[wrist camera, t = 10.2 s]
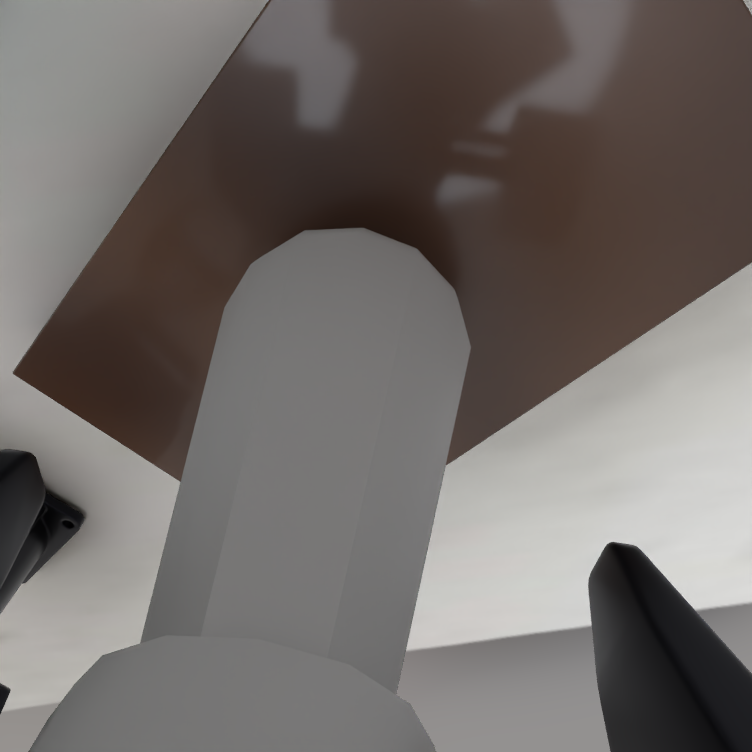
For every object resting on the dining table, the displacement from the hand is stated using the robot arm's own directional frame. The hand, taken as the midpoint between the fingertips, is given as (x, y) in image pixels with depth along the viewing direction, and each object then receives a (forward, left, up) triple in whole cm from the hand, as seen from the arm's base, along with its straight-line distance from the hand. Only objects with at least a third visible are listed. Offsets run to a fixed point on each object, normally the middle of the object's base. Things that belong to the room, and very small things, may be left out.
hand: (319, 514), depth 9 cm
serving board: (0, 0, -10) cm, 10 cm away
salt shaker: (0, 0, -8) cm, 8 cm away
